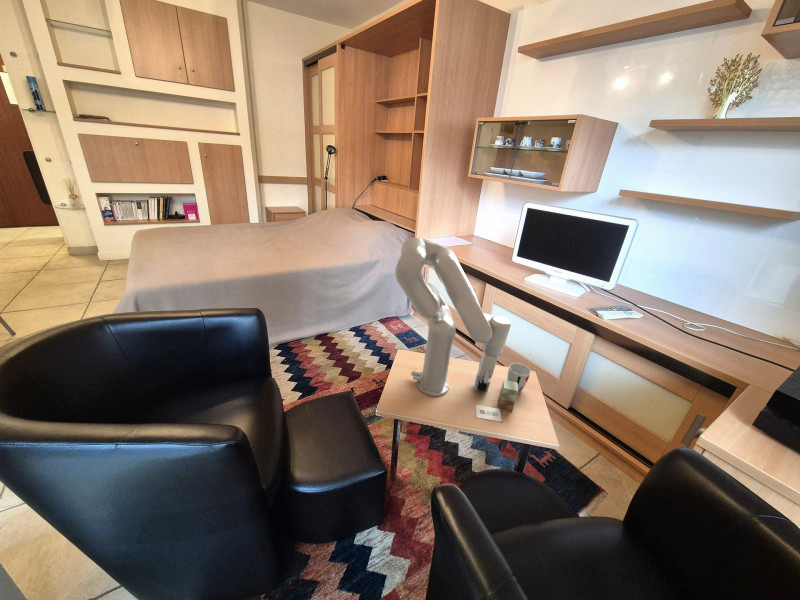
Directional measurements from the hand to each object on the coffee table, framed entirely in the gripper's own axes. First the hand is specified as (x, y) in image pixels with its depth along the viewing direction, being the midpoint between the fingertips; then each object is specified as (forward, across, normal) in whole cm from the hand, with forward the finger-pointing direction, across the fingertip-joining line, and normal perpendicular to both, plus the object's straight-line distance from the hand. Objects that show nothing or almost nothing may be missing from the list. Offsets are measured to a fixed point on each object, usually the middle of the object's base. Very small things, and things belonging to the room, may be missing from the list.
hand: (481, 385), depth 131 cm
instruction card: (+2, +13, +3) cm, 13 cm away
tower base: (+2, +7, +10) cm, 12 cm away
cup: (+1, -5, +13) cm, 15 cm away
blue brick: (+1, 0, 0) cm, 1 cm away
